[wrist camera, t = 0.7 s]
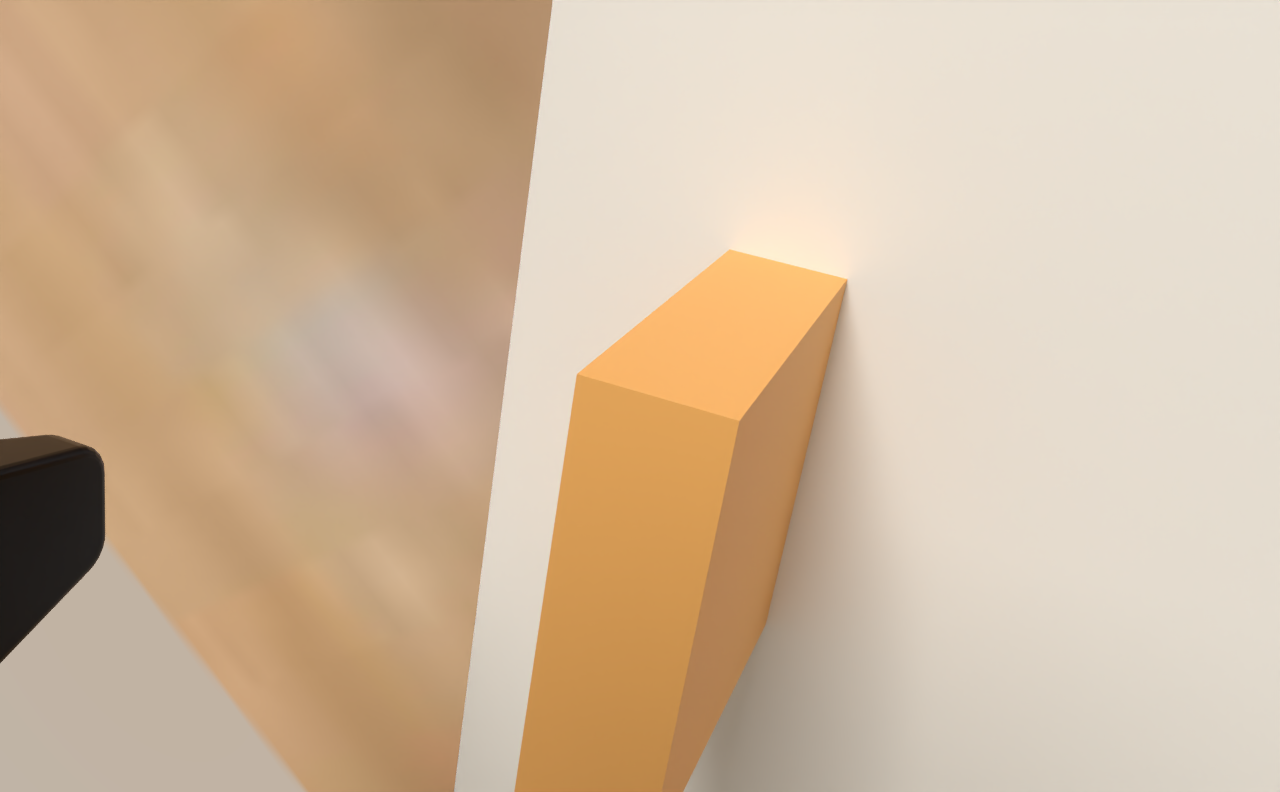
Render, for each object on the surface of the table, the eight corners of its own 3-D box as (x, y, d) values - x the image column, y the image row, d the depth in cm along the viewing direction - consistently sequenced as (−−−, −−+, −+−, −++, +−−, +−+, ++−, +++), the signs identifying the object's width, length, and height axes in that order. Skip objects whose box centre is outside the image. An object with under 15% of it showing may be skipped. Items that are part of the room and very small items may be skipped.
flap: (1206, 1110, 14) (1248, 1577, 10) (467, 818, 17) (264, 1099, 13) (1837, -155, 9) (2455, -241, 5) (617, -317, 11) (346, -465, 7)
